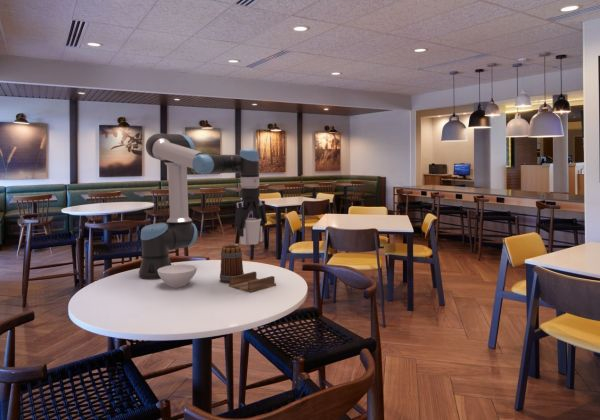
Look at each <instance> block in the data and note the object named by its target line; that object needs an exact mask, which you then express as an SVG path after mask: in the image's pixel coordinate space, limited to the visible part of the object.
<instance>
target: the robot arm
mask: <svg viewBox="0 0 600 420" xmlns="http://www.w3.org/2000/svg"><path fill="white" fill-rule="evenodd" d="M195 149H196V147H195V144H194V141H193V140H192V139H191V137H189V136H188V135H185V134H178V133H177V134H176V133H162V132H161V133H155V134H153V135H151V136H150V137H148V139H147V140H146V142H145V150H146V153H147V155H149V156H150V158H153V159H156V160H158V161H164V165H166V167H167V172H168V173H167V174H168V176H167V177H168V197H169V198H168V200H169V201H168V202H169V218H168V219H167V220H166V223H165V222H159V223H152V224H148V225H145V226H143V227H142V228H141V230H140V231H141V232H140V241H141V258H142V259H141V263H140V267H139V270H138V278H140V279H143V280H159V279H161V278H160V276H159V275H158V271H157V270H158V269H159V268H161V267H165V266H170V265H172V261H171V259H170V255H169V254H170V253H169V252H170V251H172V250H173V251H174V250H178V249H185V248H187V247H191V246H193V245H194V244H195V243H196V241H197V239H198V229H197V226H196V224H195V223H193V220H192V219H191V218H190V217H189V199H188V197H189V196H188V194H189V191H188V168H190V169H193V170H194V171H195V173H197V174H199V175H200V174H201V175H202V174H203V175H208V174H211V175H213V174H240V187H241V188H240V196H241V198H242V199H241V201H240V202H235V215H234V216H235V217H234V225H233V226H234V227H235V228H237V229H238V236H239V244H240V245H247V244H246V229H245V228H244V226H245V221H246V219H247V218H248V216H249V214H250V212H251V211H252V212H253V215H254V218H256V219H261V221H260V230H259V240H258V243H261V242H263V234H264V227H265V226H266V224H268V218H267V214H266V213H267V212H266V207H265V206H266V201H265V200H262V199H261V200H260V193H261V192H260V188H259V187H260V156H259V155H260V154H259V150H258V149H253V148H252V149H251V148H250V149H249V148H247V149H244V148H243V149H240V150H239V154H212V153H211V154H210V153H206V152H203V151H199V150H197V149H196V150H195Z"/></svg>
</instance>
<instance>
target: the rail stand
mask: <svg viewBox="0 0 600 420" xmlns="http://www.w3.org/2000/svg"><path fill="white" fill-rule="evenodd" d="M275 278H276V277H275V276H274V275H271V276H267V277H263V278H257V271H251V272H247V273H244V274H242V275H238V276H233V277H230V283H228V287H229V288H233V289H236V290H240V291H243V292H246V293H254V292H258V291H261V290H265V289H269V288H272V287H276V286H277V283H275Z"/></svg>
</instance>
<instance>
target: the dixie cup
mask: <svg viewBox="0 0 600 420" xmlns="http://www.w3.org/2000/svg"><path fill="white" fill-rule="evenodd" d="M260 221H261V219H256V218H255V217H247V219H246V221H245V226H244V228H245V229H246V245H250V246H251V245H257V244H259V241H258V240H259V230H260Z"/></svg>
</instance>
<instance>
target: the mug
mask: <svg viewBox="0 0 600 420" xmlns="http://www.w3.org/2000/svg"><path fill="white" fill-rule="evenodd" d="M242 274H245V272H244V265H243V252H242V247H241V244H240V243H234V244H228V245H227V244H226V245H222V246H221V251H220V274H219V280H220V281H221V282H222V283H224V284H230V277H233V276H238V275H242Z"/></svg>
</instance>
